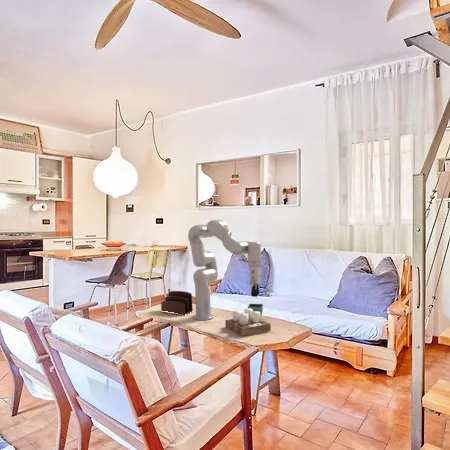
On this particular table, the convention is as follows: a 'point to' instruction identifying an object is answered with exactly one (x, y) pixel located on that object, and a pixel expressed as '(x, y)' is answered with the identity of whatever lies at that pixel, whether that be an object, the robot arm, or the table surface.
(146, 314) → the table surface
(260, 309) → the flower pot
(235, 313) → the button
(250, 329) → the board
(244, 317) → the button
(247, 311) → the button
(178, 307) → the letter holder
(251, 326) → the card
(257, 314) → the button
